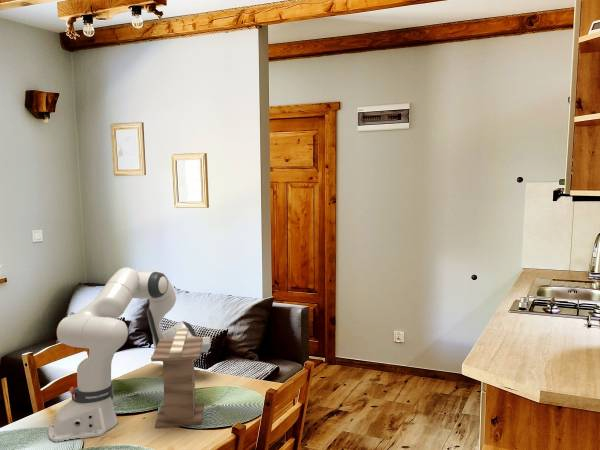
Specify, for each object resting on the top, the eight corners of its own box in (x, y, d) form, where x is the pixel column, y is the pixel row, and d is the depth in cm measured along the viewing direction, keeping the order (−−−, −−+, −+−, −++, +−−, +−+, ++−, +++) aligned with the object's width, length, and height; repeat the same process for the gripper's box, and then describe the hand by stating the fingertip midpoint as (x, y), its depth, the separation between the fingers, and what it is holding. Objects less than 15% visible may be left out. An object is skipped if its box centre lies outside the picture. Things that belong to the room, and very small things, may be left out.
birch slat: (178, 332, 204) (178, 328, 204) (188, 331, 205) (188, 327, 205) (169, 357, 175) (169, 352, 174) (181, 356, 175) (181, 352, 175)
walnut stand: (162, 405, 198) (159, 339, 196) (204, 402, 200) (202, 337, 198) (153, 432, 176) (151, 358, 174) (201, 429, 178) (199, 355, 176)
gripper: (164, 340, 226) (160, 333, 214) (211, 338, 229) (210, 330, 216) (163, 354, 223) (159, 348, 211) (211, 352, 226) (210, 345, 214)
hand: (185, 339), depth 214 cm, fingers open, 8 cm apart
